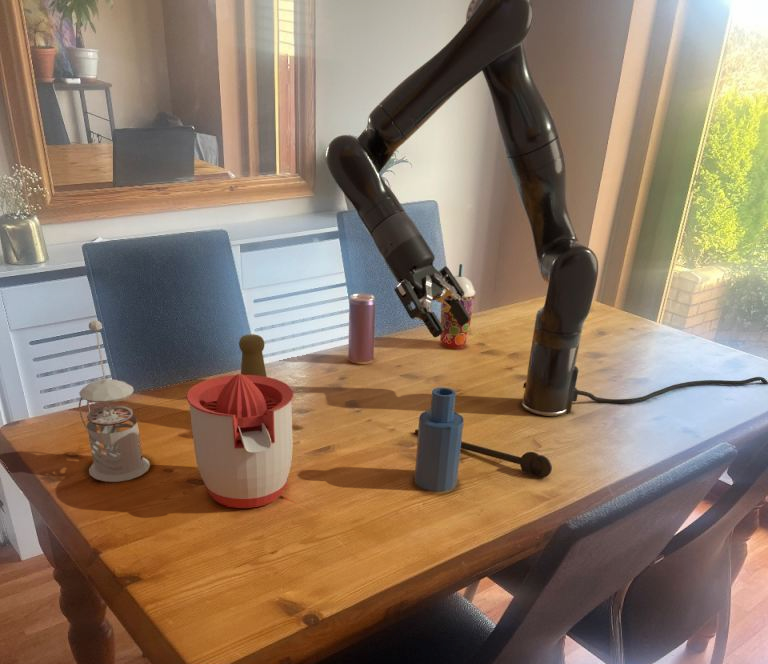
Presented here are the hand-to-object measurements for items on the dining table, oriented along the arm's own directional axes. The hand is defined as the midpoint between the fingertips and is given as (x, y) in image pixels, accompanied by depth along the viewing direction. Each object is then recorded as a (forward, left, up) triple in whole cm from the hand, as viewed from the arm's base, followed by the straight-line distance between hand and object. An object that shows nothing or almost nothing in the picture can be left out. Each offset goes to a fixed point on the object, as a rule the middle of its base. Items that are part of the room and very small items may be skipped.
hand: (453, 328), depth 122 cm
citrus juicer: (+36, +16, -22) cm, 45 cm away
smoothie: (-15, -55, -22) cm, 62 cm away
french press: (+58, +4, -22) cm, 62 cm away
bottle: (+5, +15, -22) cm, 27 cm away
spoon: (+4, -4, -21) cm, 22 cm away
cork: (+35, -30, -22) cm, 51 cm away
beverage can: (+10, -45, -22) cm, 51 cm away
